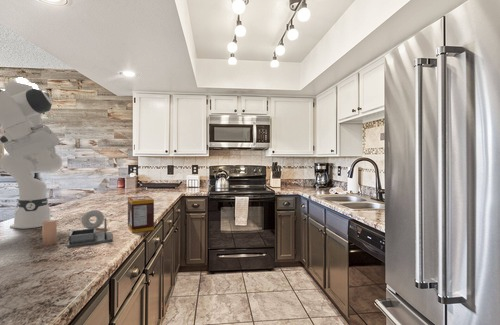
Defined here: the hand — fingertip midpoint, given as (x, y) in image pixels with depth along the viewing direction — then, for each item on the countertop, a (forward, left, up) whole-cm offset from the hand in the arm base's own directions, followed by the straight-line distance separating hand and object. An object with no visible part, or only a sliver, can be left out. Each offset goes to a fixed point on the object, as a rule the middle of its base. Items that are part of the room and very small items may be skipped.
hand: (45, 160), depth 108 cm
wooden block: (0, +1, -35) cm, 35 cm away
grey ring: (-18, +16, -35) cm, 43 cm away
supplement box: (-9, +38, -35) cm, 52 cm away
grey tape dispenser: (+2, +16, -35) cm, 39 cm away
